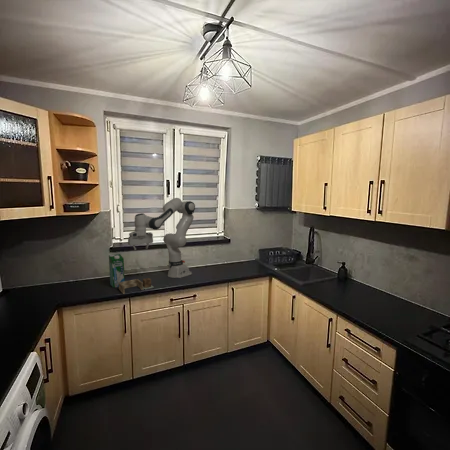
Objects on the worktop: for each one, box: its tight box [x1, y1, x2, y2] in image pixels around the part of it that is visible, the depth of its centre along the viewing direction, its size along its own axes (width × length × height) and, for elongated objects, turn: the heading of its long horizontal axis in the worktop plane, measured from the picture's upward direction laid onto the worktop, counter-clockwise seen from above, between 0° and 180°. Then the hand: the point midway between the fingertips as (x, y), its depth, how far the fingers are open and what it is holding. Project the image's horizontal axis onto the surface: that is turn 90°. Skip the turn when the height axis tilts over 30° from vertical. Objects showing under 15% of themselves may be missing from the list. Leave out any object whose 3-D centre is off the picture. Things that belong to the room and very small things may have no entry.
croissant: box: [118, 278, 144, 295], centre depth 201 cm, size 15×12×6 cm
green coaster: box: [143, 284, 155, 290], centre depth 206 cm, size 8×8×1 cm
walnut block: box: [142, 277, 152, 288], centre depth 206 cm, size 5×5×6 cm
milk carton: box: [108, 253, 126, 288], centre depth 210 cm, size 9×9×25 cm
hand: (141, 249), depth 213 cm, fingers open, 8 cm apart
